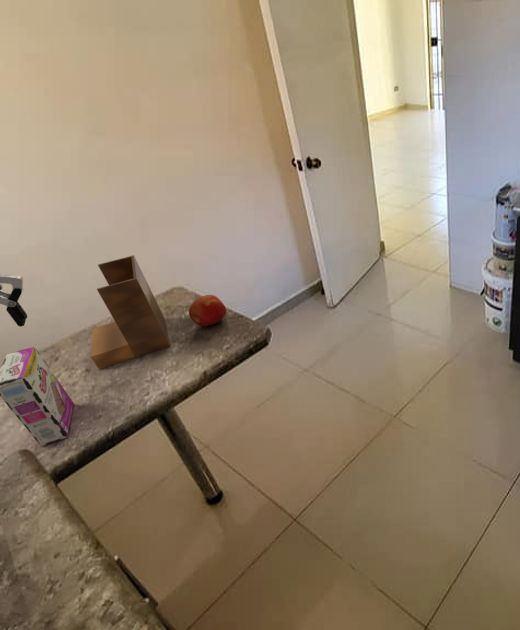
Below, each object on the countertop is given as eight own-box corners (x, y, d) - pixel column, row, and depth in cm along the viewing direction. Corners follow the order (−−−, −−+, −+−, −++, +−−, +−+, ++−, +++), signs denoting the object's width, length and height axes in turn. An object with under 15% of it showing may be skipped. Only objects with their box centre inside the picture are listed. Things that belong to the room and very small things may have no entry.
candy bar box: (70, 437, 88) (23, 377, 78) (41, 447, 86) (-11, 387, 77) (76, 402, 96) (34, 344, 87) (50, 411, 94) (4, 353, 85)
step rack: (99, 370, 105) (54, 301, 94) (100, 339, 116) (59, 274, 104) (170, 346, 111) (136, 278, 100) (164, 318, 122) (133, 255, 111)
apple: (233, 320, 119) (224, 296, 114) (204, 335, 114) (193, 310, 110) (219, 311, 124) (209, 287, 119) (190, 325, 119) (179, 300, 114)
